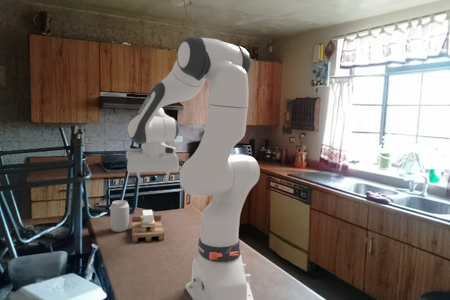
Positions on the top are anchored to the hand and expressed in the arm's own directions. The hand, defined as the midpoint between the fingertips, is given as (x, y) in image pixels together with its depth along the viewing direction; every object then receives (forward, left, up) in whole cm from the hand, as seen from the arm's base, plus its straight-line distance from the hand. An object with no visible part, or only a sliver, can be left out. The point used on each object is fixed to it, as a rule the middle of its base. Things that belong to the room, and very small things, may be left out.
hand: (153, 182), depth 133 cm
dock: (+1, +2, -22) cm, 22 cm away
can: (+8, +13, -22) cm, 27 cm away
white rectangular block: (+1, +2, -16) cm, 16 cm away
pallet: (+1, +2, -19) cm, 19 cm away
